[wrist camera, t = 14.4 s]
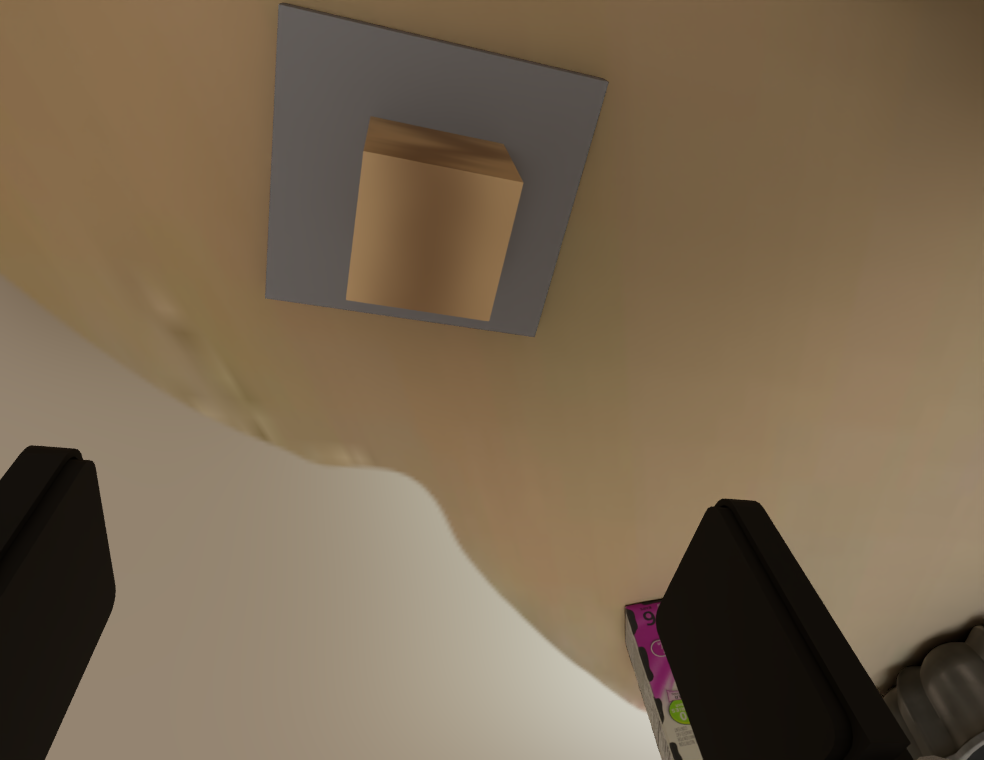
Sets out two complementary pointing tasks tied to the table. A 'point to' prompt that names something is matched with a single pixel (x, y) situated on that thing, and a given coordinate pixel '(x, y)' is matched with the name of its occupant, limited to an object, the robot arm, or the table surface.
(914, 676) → the bundt pan
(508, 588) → the table surface
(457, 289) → the oak cube
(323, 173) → the charcoal mat
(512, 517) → the table surface
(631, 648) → the candy bar box
